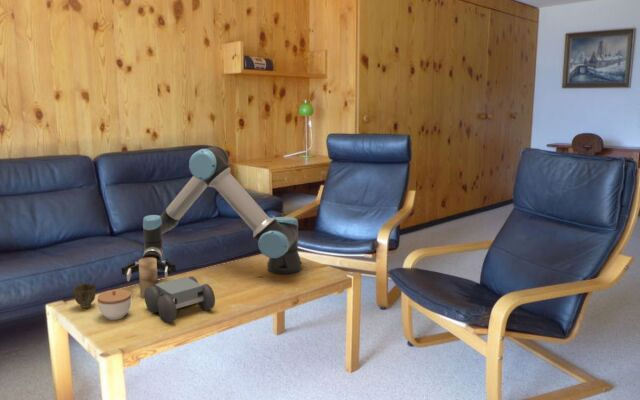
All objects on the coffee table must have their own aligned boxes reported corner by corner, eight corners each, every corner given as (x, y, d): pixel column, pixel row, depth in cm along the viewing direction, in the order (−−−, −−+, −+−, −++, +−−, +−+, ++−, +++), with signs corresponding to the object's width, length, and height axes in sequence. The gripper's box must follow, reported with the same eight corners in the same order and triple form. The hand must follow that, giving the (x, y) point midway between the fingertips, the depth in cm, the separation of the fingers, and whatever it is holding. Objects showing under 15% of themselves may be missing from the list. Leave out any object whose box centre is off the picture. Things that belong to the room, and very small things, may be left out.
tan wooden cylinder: (153, 290, 205) (151, 256, 202) (161, 295, 200) (159, 260, 197) (137, 294, 200) (135, 259, 197) (145, 299, 196) (143, 264, 193)
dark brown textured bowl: (101, 305, 191) (100, 284, 189) (87, 313, 184) (85, 291, 182) (84, 302, 193) (83, 281, 191) (69, 310, 186) (67, 288, 184)
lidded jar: (95, 314, 183) (93, 289, 181) (126, 307, 189) (124, 282, 187) (104, 325, 174) (102, 299, 172) (136, 317, 181) (134, 292, 179)
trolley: (188, 296, 200) (187, 272, 198) (215, 311, 186) (214, 286, 184) (145, 308, 188) (143, 283, 186) (170, 326, 175) (169, 299, 173)
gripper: (183, 265, 221) (181, 283, 201) (120, 269, 216) (112, 288, 195) (182, 248, 219) (181, 265, 199) (119, 251, 214) (111, 269, 194)
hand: (147, 276), depth 197 cm, fingers open, 13 cm apart
